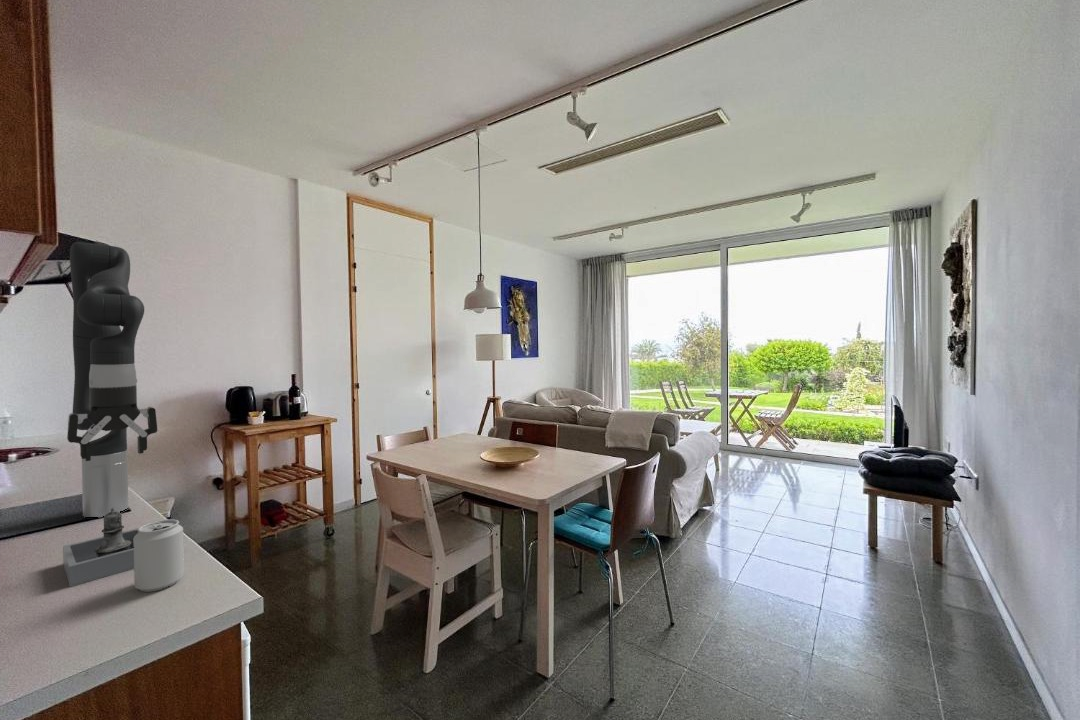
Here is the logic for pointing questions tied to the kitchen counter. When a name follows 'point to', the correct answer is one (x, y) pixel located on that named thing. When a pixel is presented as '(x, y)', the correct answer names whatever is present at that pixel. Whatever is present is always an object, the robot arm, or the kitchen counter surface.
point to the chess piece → (112, 535)
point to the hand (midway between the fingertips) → (115, 456)
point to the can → (158, 555)
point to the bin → (96, 560)
